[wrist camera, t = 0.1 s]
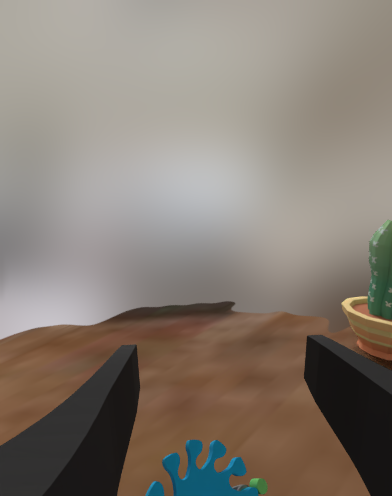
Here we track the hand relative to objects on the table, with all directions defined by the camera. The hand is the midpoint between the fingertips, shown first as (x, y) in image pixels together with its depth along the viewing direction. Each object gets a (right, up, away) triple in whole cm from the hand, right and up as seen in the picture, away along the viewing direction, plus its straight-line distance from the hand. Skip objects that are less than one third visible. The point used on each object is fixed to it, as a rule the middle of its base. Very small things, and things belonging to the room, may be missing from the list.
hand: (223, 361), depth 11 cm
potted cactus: (+36, -15, +41) cm, 57 cm away
